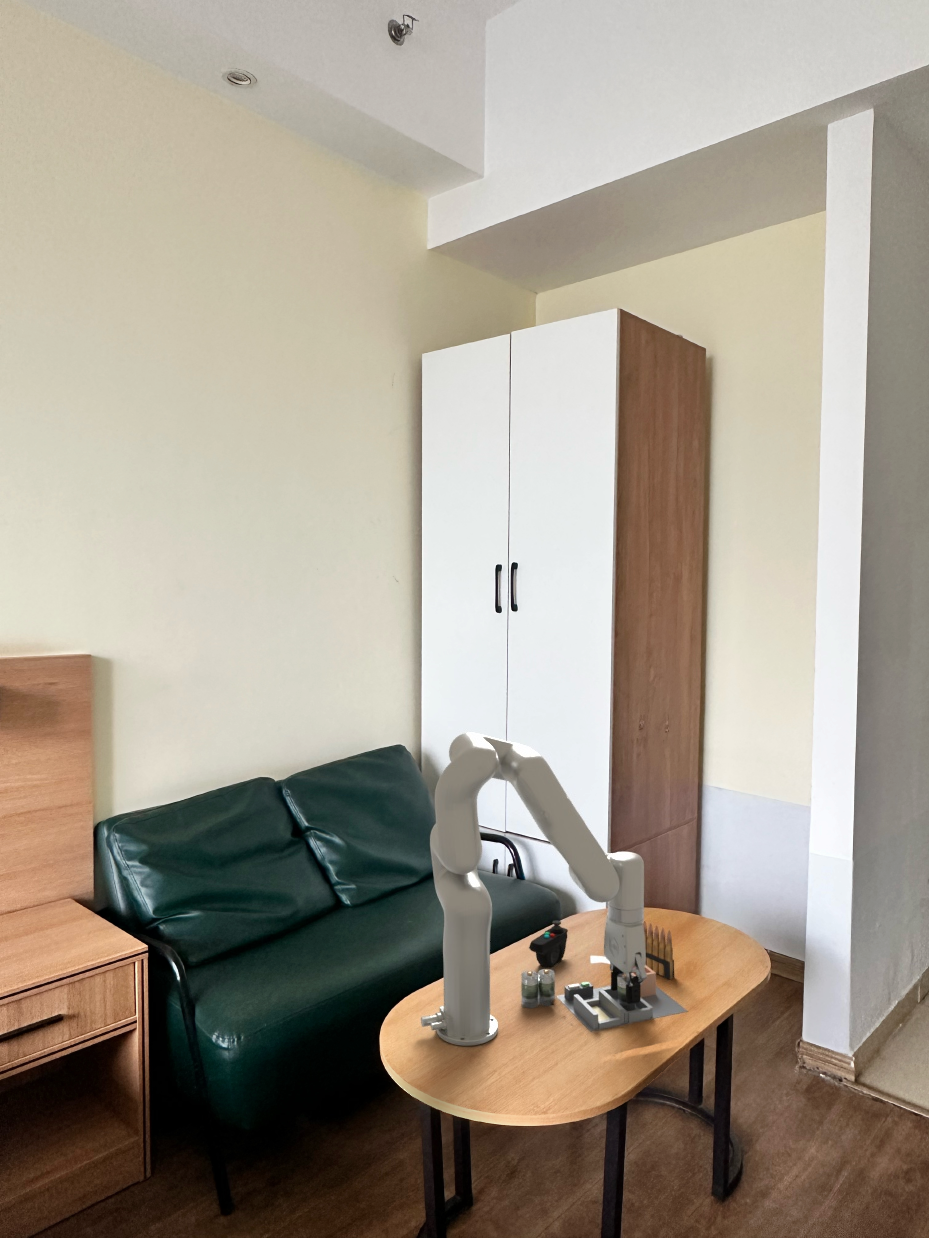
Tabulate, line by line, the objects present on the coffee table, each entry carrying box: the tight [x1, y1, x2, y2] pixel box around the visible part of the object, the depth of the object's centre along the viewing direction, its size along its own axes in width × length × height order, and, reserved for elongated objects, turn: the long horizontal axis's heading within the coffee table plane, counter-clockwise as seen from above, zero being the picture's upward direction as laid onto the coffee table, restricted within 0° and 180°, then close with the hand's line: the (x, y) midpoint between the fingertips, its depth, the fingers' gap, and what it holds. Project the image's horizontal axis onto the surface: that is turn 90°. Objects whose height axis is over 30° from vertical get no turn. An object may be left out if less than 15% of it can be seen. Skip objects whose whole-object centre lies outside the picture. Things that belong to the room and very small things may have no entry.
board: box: [555, 981, 689, 1032], centre depth 190 cm, size 23×16×4 cm
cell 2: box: [537, 968, 556, 1007], centre depth 193 cm, size 4×4×7 cm
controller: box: [528, 920, 569, 969], centre depth 210 cm, size 4×12×10 cm, turn 142°
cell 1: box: [520, 970, 539, 1009], centre depth 192 cm, size 4×4×7 cm
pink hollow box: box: [631, 965, 657, 997], centre depth 196 cm, size 5×5×5 cm
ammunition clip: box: [643, 920, 675, 981], centre depth 205 cm, size 11×2×12 cm, turn 39°
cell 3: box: [617, 973, 635, 1011], centre depth 188 cm, size 4×4×7 cm
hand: (625, 994), depth 188 cm, fingers open, 5 cm apart
